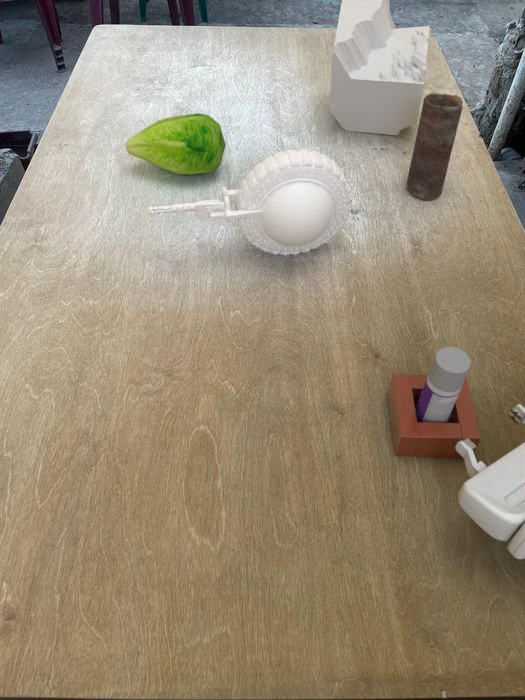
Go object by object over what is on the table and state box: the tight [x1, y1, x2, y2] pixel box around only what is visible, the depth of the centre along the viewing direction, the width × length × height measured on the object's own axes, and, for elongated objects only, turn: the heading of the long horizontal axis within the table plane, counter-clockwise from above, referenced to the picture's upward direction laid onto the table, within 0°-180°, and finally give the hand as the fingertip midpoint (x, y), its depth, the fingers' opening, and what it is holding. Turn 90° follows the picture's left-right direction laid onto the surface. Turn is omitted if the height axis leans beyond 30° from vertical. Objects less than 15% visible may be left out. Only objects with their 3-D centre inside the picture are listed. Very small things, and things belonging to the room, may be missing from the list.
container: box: [415, 346, 472, 423], centre depth 86 cm, size 5×5×15 cm
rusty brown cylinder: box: [406, 92, 464, 202], centre depth 121 cm, size 8×7×20 cm
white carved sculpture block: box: [328, 0, 431, 136], centre depth 137 cm, size 20×16×25 cm
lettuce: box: [125, 112, 226, 176], centre depth 128 cm, size 14×20×12 cm
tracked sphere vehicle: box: [147, 148, 353, 257], centre depth 108 cm, size 35×14×20 cm, turn 100°
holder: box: [386, 373, 482, 458], centre depth 90 cm, size 11×11×5 cm
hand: (487, 425), depth 79 cm, fingers open, 8 cm apart
